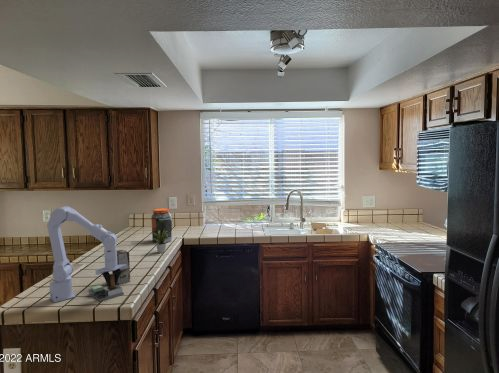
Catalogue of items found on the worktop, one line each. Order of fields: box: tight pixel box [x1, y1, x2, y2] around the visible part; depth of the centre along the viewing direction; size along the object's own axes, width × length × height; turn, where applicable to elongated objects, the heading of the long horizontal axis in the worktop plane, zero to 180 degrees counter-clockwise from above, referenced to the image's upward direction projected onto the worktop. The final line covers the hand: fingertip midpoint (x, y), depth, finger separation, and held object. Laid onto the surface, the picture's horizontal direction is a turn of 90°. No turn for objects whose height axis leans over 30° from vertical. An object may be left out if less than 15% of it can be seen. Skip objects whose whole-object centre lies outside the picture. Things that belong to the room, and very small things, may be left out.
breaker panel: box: [88, 284, 125, 302], centre depth 180 cm, size 12×13×3 cm
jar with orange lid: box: [150, 208, 173, 244], centre depth 293 cm, size 16×16×26 cm
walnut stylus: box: [109, 273, 115, 290], centre depth 179 cm, size 3×3×8 cm
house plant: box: [151, 230, 173, 254], centre depth 258 cm, size 14×14×16 cm
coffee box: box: [111, 249, 131, 285], centre depth 199 cm, size 9×6×16 cm
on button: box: [91, 284, 104, 292], centre depth 180 cm, size 4×4×2 cm
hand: (112, 285), depth 179 cm, fingers closed on walnut stylus, 3 cm apart
